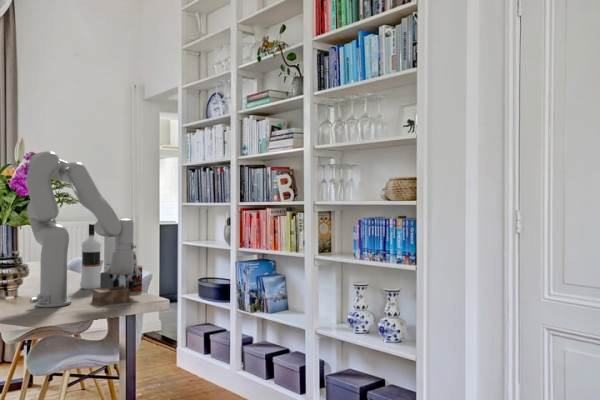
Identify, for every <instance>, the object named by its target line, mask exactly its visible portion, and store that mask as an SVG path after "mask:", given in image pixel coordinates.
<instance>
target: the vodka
mask: <svg viewBox="0 0 600 400" xmlns="http://www.w3.org/2000/svg"><path fill="white" fill-rule="evenodd" d="M94 225H95V223H89V224H88V237H87V238H86V239H85V240H83V242H82V243H81V278H80V279H81V280H80V283H79V287H80V289H82V290H92V289H100V275H101V251H102V250H101V248H102V243H101V241H100V240H98V239H97V238H96V237H95V235H96V234H95V233H96V232H95V230H94Z"/></svg>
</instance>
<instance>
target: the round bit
mask: <svg viewBox="0 0 600 400" xmlns="http://www.w3.org/2000/svg"><path fill="white" fill-rule="evenodd" d="M128 278H129V277H128V275H125V274H119V287H124V288H127V289H128Z"/></svg>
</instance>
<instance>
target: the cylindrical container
mask: <svg viewBox="0 0 600 400" xmlns="http://www.w3.org/2000/svg"><path fill="white" fill-rule="evenodd" d="M103 237H104V239H103V240H104V243H103V247H104V248H103V249H104V250H103V272H107V270H108V269H109V268H110V267H111V261H112V255H113V251H115V237H105V236H103ZM118 280H119V277H118Z"/></svg>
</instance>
